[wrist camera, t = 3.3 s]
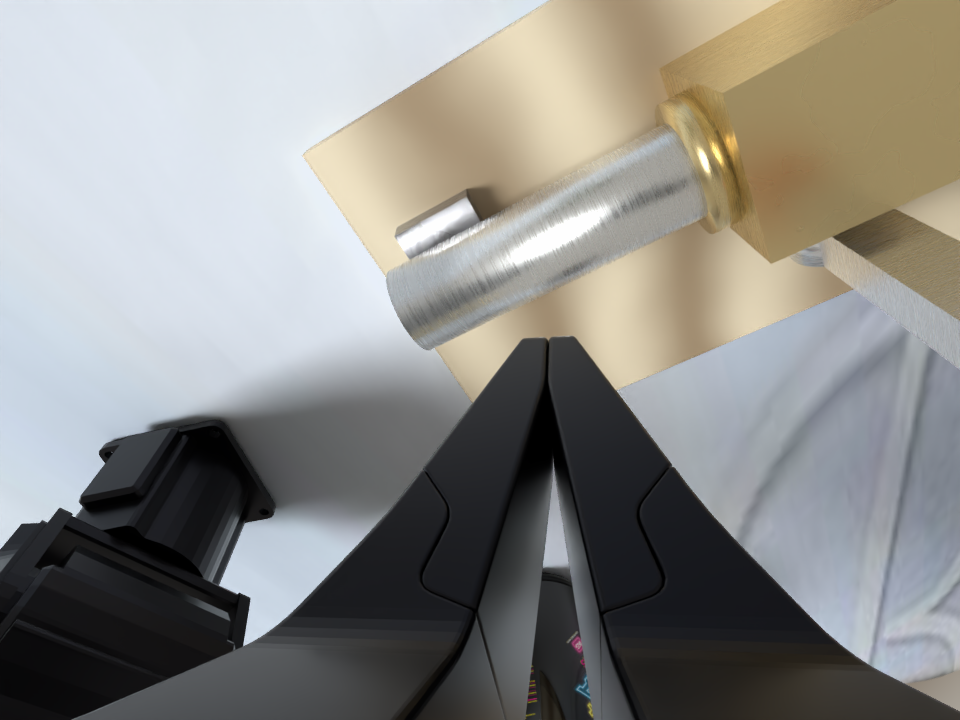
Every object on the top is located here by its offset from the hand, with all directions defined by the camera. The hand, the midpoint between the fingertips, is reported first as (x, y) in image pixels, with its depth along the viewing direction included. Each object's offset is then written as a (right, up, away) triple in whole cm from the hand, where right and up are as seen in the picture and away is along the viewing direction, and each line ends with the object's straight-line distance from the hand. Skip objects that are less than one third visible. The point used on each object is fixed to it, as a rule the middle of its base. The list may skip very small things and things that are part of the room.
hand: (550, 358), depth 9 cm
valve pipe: (+5, +7, +11) cm, 14 cm away
